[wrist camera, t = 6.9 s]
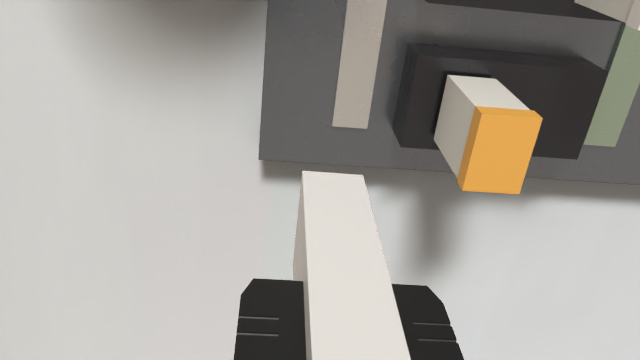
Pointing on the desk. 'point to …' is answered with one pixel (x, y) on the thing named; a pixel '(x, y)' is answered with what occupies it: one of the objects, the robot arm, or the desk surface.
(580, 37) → the panel
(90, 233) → the desk surface
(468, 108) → the block
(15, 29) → the desk surface
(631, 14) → the block
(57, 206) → the desk surface
